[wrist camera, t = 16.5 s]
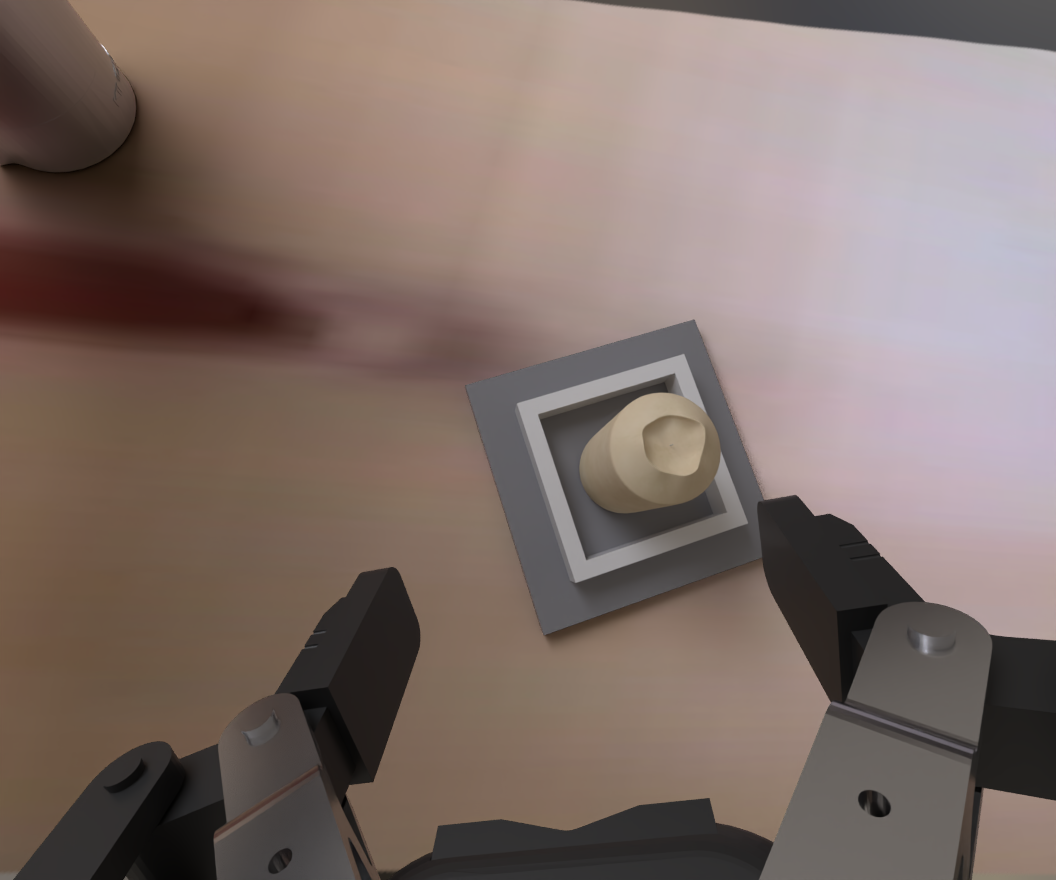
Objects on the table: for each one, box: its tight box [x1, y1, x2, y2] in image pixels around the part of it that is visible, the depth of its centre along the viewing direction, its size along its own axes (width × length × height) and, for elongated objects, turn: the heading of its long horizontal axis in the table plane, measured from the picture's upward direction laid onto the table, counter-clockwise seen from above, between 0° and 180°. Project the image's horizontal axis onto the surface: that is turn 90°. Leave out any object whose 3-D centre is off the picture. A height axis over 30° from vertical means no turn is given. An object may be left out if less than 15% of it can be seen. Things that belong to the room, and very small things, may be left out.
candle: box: [579, 393, 721, 513], centre depth 30 cm, size 6×6×10 cm
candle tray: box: [465, 320, 764, 635], centre depth 35 cm, size 16×16×3 cm
